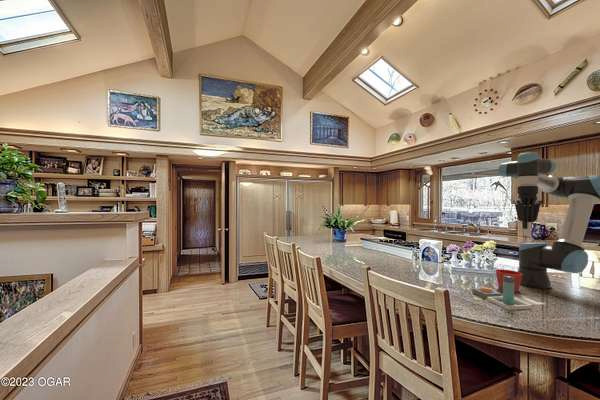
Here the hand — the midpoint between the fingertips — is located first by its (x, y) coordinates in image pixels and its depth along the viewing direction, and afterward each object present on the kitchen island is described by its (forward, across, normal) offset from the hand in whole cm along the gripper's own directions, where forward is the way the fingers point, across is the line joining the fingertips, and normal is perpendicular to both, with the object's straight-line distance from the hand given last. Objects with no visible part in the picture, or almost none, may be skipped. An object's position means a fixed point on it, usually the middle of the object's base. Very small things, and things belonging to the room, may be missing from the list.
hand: (527, 235), depth 127 cm
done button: (+29, +18, -3) cm, 34 cm away
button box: (+29, +18, -3) cm, 35 cm away
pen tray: (+29, +17, +8) cm, 35 cm away
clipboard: (+29, +5, +3) cm, 30 cm away
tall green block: (+29, +17, +8) cm, 34 cm away
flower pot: (+30, -1, -11) cm, 32 cm away
